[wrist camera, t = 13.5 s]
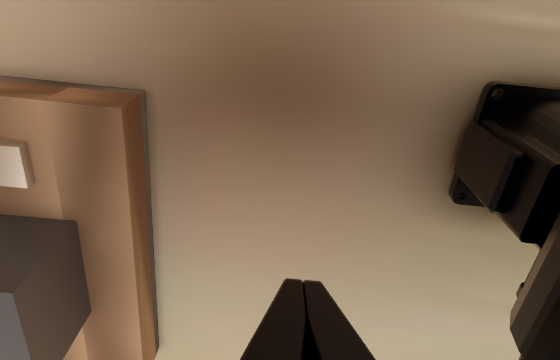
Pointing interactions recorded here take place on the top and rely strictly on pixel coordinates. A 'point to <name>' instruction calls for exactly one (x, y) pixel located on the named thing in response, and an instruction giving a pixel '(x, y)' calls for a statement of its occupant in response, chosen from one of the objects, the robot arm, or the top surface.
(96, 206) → the socket box
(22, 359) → the dark grey block
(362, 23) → the top surface
